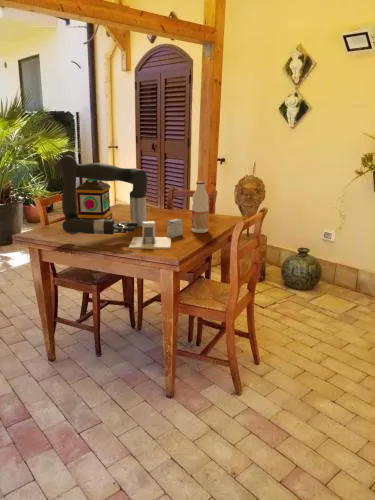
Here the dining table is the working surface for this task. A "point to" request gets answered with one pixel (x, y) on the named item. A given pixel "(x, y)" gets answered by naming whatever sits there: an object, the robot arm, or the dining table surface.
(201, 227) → the fruit juice
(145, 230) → the drive
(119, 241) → the dining table surface
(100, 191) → the decorative lantern
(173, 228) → the medicine box
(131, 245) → the pin tray
